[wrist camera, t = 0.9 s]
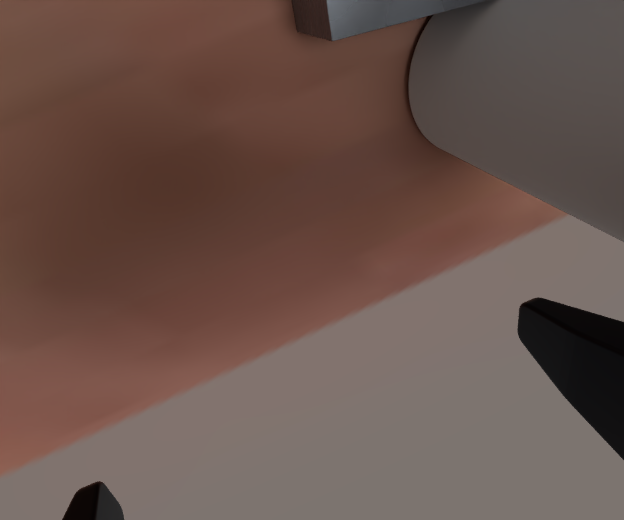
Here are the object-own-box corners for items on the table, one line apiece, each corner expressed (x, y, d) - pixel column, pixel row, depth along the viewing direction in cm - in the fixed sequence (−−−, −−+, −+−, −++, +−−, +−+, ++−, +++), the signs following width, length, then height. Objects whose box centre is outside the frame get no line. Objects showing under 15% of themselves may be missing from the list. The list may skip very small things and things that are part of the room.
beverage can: (543, 102, 21) (916, 204, 11) (421, 175, 21) (699, 347, 11) (524, -57, 17) (1055, -108, 8) (375, 29, 17) (735, 90, 7)
